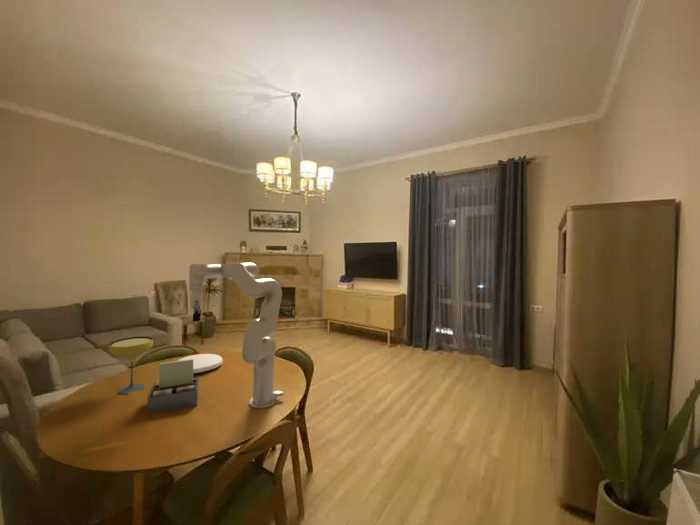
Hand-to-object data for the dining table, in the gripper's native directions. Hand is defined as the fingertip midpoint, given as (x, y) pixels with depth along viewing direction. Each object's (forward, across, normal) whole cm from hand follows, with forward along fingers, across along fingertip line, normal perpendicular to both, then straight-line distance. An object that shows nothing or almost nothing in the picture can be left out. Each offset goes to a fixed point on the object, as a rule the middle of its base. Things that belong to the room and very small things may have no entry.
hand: (197, 319), depth 152 cm
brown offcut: (+35, +20, -12) cm, 43 cm away
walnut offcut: (+35, +20, -4) cm, 41 cm away
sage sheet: (+35, +12, -8) cm, 38 cm away
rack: (+36, +16, -8) cm, 40 cm away
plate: (+37, -28, 0) cm, 46 cm away
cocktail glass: (+36, -9, -30) cm, 48 cm away
